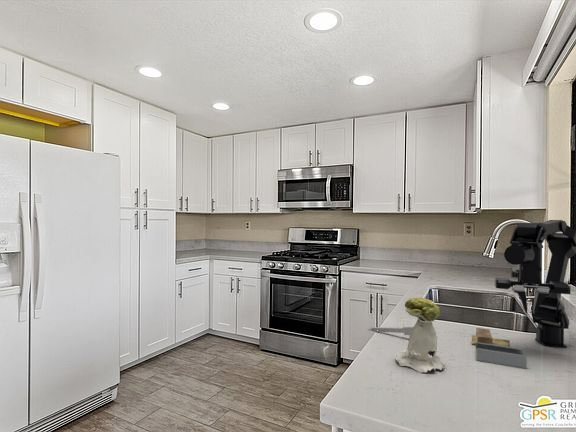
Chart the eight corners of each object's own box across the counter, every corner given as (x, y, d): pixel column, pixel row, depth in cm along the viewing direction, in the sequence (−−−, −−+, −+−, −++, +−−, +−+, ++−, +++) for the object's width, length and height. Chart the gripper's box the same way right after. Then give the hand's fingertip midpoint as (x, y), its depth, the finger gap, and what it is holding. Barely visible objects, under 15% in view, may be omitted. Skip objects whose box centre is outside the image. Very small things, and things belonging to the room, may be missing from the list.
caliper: (425, 343, 114) (425, 324, 114) (424, 344, 113) (424, 325, 113) (369, 330, 127) (369, 313, 127) (367, 330, 126) (368, 313, 126)
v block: (522, 359, 100) (522, 348, 101) (526, 368, 94) (526, 357, 94) (475, 352, 106) (475, 341, 106) (476, 360, 100) (476, 349, 100)
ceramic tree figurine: (407, 351, 106) (407, 291, 106) (451, 363, 97) (451, 298, 97) (389, 362, 97) (389, 297, 97) (435, 377, 88) (435, 305, 89)
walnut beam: (489, 341, 116) (489, 329, 116) (492, 351, 107) (492, 338, 107) (476, 339, 117) (476, 327, 117) (477, 349, 108) (477, 336, 108)
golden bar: (508, 347, 110) (508, 338, 110) (509, 351, 108) (510, 342, 107) (471, 341, 115) (471, 333, 115) (471, 346, 112) (471, 337, 112)
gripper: (560, 262, 110) (560, 311, 110) (493, 258, 118) (492, 304, 118) (571, 266, 100) (571, 319, 100) (496, 262, 108) (496, 311, 108)
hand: (530, 313), depth 107 cm, fingers closed
